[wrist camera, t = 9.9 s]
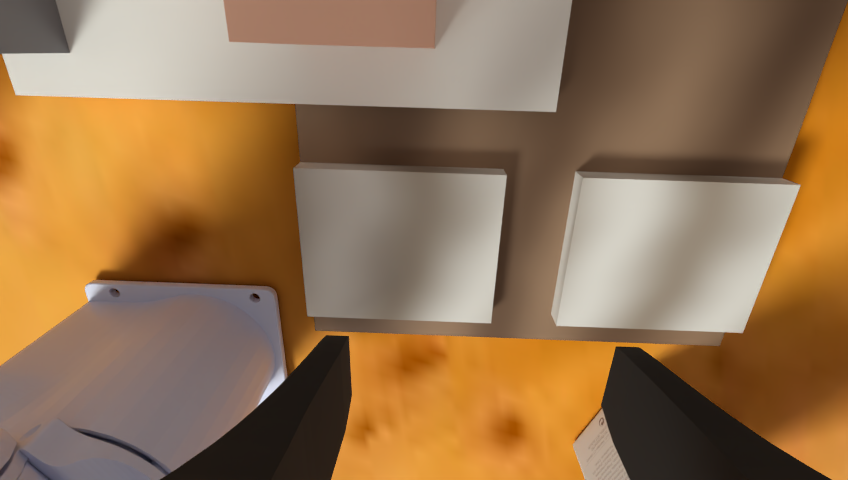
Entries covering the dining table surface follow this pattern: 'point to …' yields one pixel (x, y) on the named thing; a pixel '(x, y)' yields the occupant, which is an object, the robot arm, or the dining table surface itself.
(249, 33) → the block
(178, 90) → the white tray
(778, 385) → the dining table surface
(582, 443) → the small box
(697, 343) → the board
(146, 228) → the dining table surface
